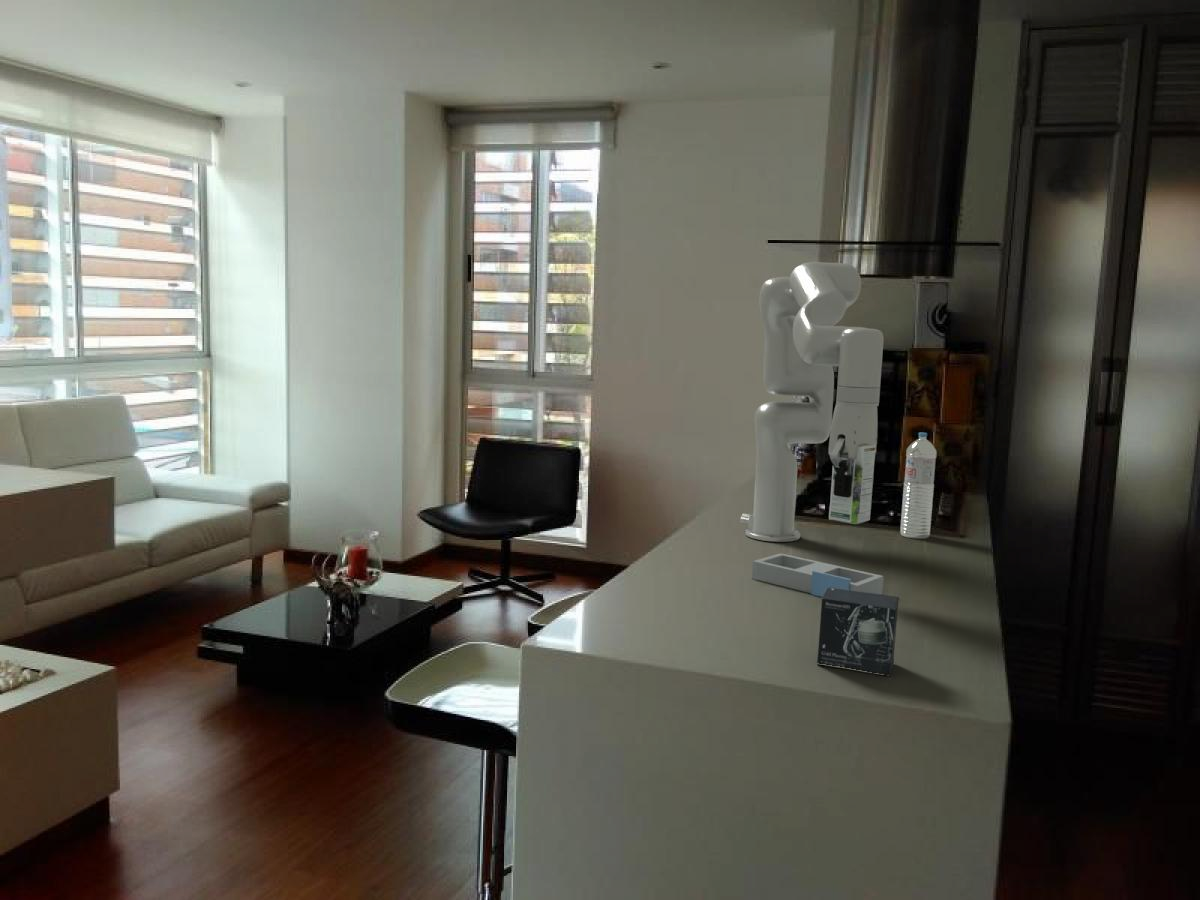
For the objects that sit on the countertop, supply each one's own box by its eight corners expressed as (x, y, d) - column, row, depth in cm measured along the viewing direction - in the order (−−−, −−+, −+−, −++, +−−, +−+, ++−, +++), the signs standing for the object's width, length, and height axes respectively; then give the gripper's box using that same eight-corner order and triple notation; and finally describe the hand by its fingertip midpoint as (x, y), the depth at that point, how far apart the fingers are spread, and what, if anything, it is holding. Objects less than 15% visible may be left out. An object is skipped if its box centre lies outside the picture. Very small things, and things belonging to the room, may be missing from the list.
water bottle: (931, 540, 226) (940, 435, 223) (901, 538, 227) (909, 433, 224) (927, 534, 233) (936, 432, 229) (898, 532, 234) (906, 430, 231)
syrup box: (827, 519, 177) (832, 441, 175) (843, 515, 181) (848, 439, 179) (855, 525, 173) (861, 445, 171) (871, 520, 177) (876, 443, 175)
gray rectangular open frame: (750, 579, 187) (751, 557, 186) (779, 570, 194) (780, 548, 194) (854, 605, 172) (856, 581, 171) (882, 594, 179) (883, 571, 179)
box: (815, 666, 141) (820, 597, 139) (822, 652, 147) (826, 586, 145) (891, 678, 137) (896, 607, 135) (894, 663, 143) (899, 595, 141)
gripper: (861, 393, 183) (855, 486, 185) (815, 396, 170) (808, 496, 173) (898, 396, 178) (891, 492, 180) (853, 400, 165) (846, 502, 168)
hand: (851, 493), depth 176 cm, fingers closed on syrup box, 5 cm apart
